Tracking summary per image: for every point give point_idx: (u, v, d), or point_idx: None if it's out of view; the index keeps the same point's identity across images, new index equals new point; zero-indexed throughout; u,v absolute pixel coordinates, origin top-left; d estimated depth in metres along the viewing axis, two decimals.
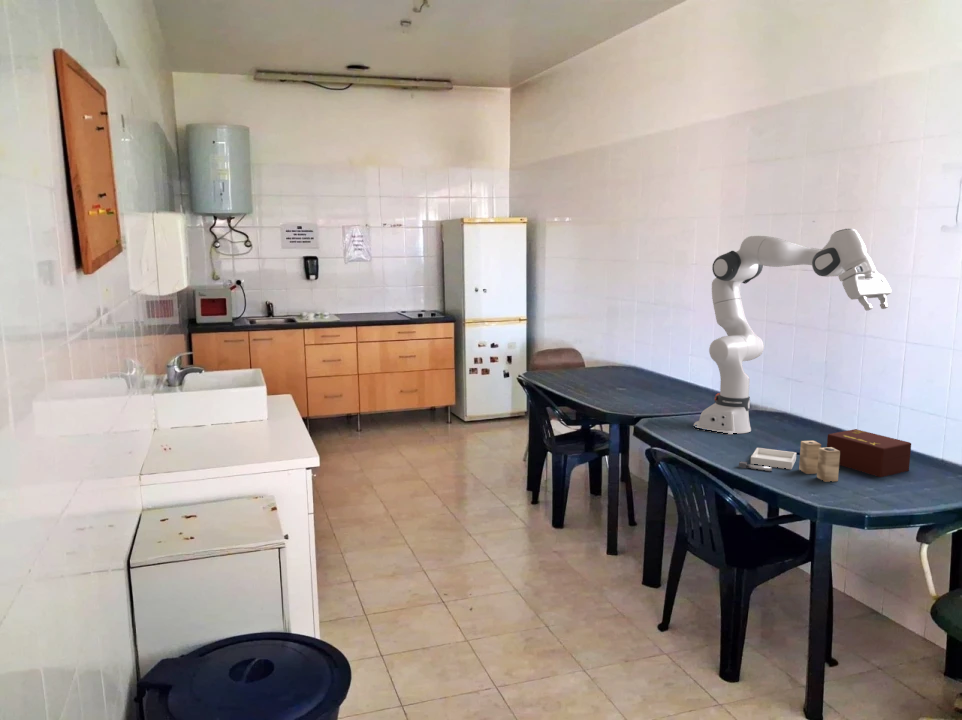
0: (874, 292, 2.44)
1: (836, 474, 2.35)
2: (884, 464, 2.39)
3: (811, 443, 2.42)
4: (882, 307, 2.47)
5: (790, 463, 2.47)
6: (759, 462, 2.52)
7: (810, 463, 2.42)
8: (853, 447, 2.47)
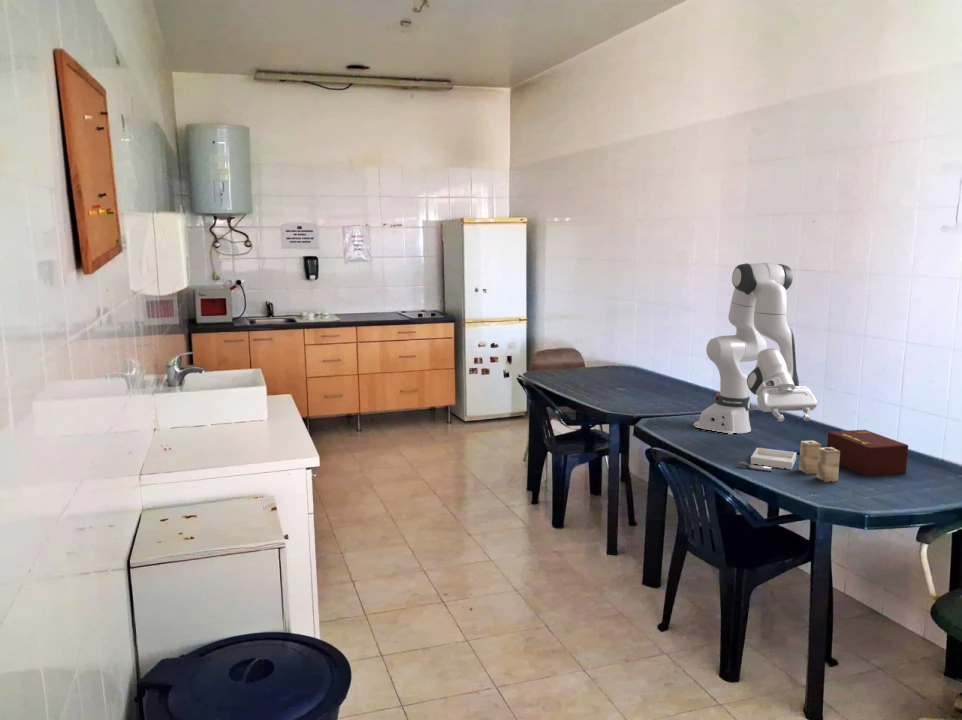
0: (789, 404, 2.55)
1: (836, 474, 2.35)
2: (871, 463, 2.40)
3: (811, 443, 2.42)
4: (804, 419, 2.54)
5: (790, 463, 2.47)
6: (759, 462, 2.52)
7: (810, 463, 2.42)
8: (846, 445, 2.49)
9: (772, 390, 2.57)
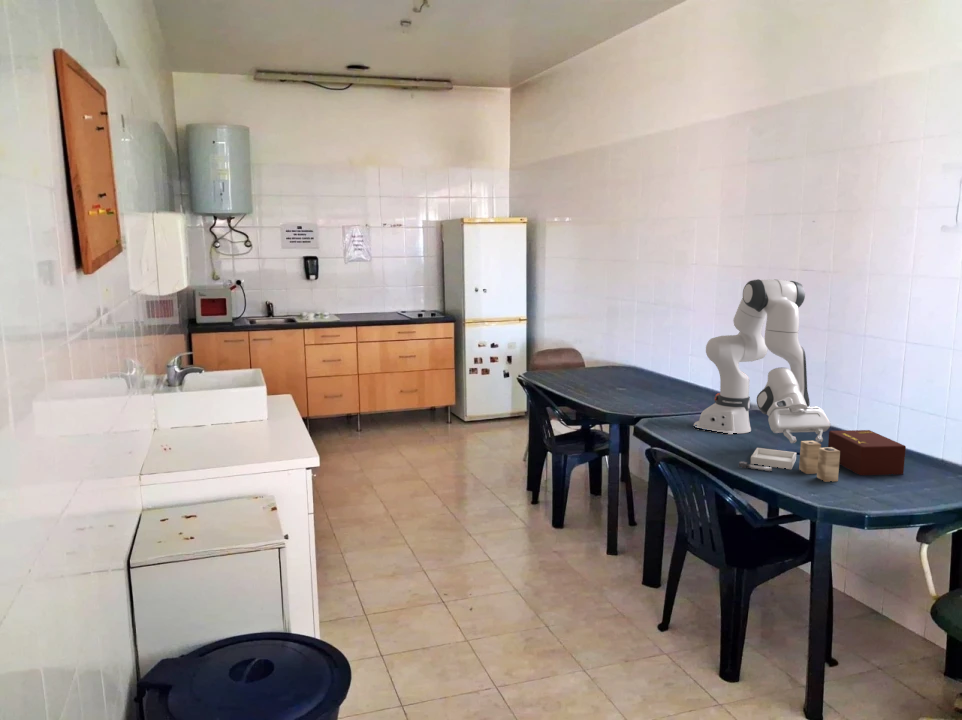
0: (801, 425, 2.47)
1: (836, 474, 2.35)
2: (864, 463, 2.40)
3: (811, 443, 2.42)
4: (817, 440, 2.47)
5: (790, 463, 2.47)
6: (759, 462, 2.52)
7: (810, 463, 2.42)
8: (844, 444, 2.50)
9: (784, 411, 2.50)
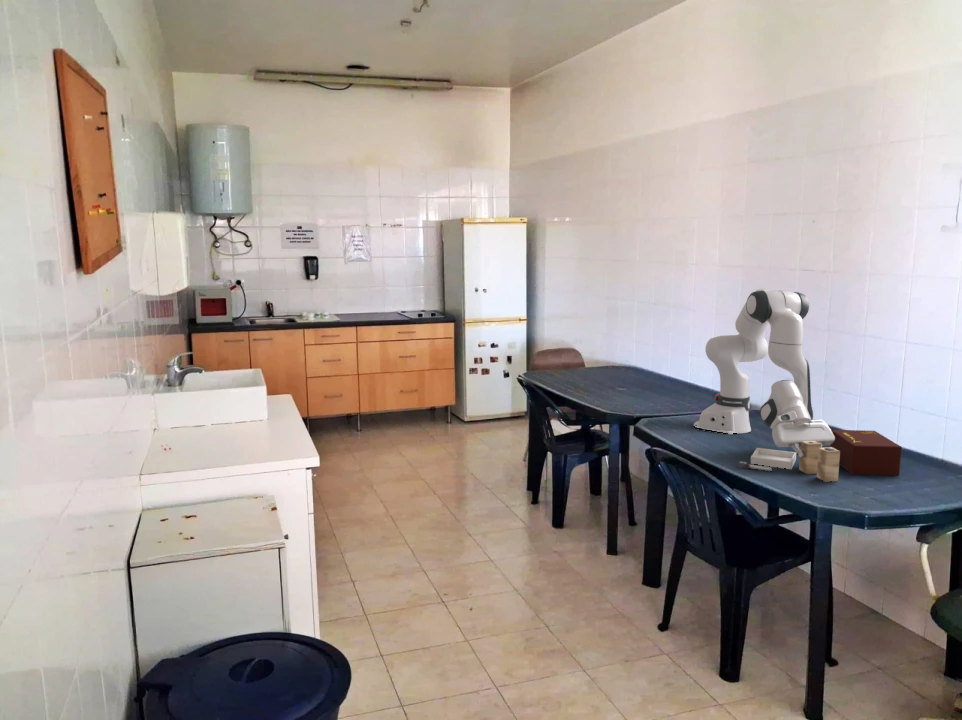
0: (806, 439, 2.45)
1: (836, 474, 2.35)
2: (857, 461, 2.42)
3: (811, 443, 2.42)
4: None
5: (790, 463, 2.47)
6: (759, 462, 2.52)
7: (810, 463, 2.42)
8: (841, 443, 2.51)
9: (788, 425, 2.47)
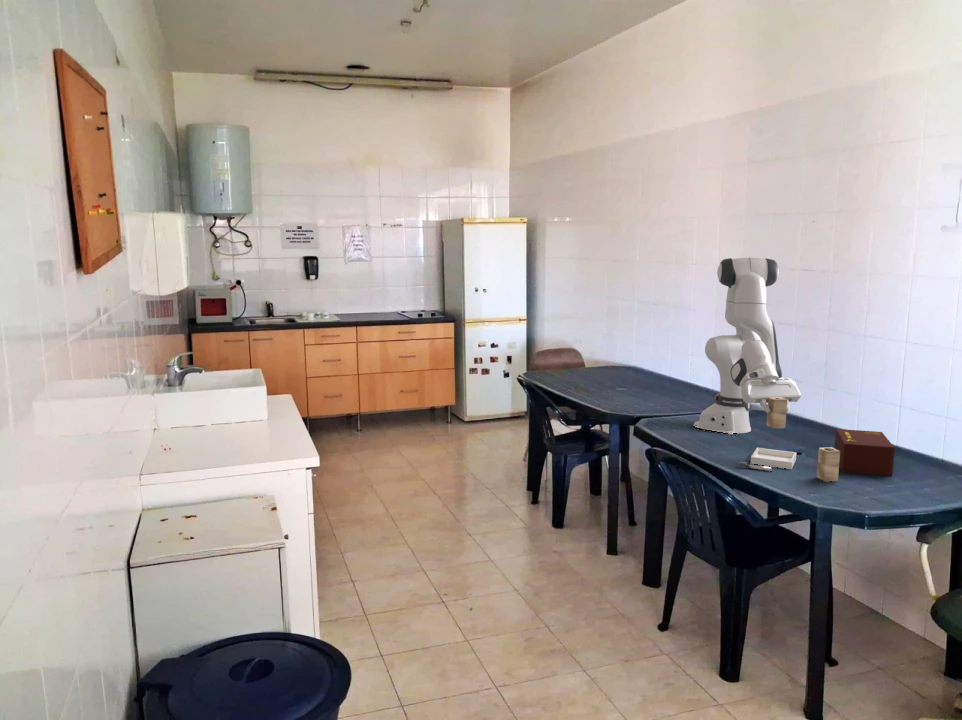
0: (773, 396, 2.54)
1: (836, 474, 2.35)
2: (847, 460, 2.44)
3: (778, 399, 2.51)
4: None
5: (790, 463, 2.47)
6: (759, 462, 2.52)
7: (777, 418, 2.51)
8: (839, 442, 2.53)
9: (756, 382, 2.56)
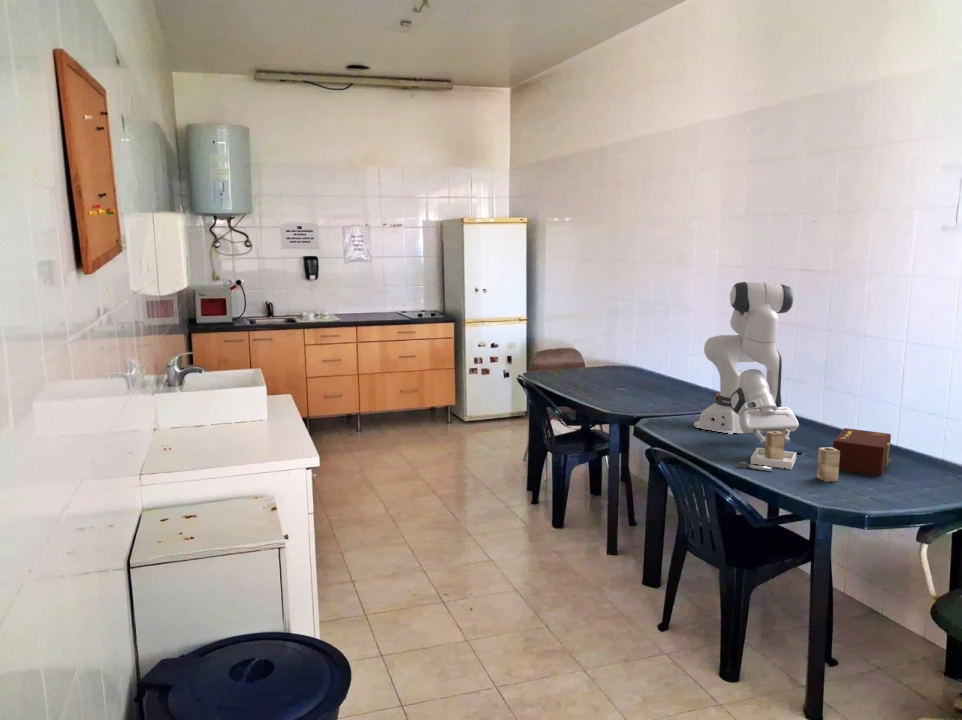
0: (770, 426, 2.56)
1: (836, 474, 2.35)
2: None
3: (775, 433, 2.53)
4: (784, 440, 2.55)
5: (790, 463, 2.47)
6: (759, 462, 2.52)
7: (774, 452, 2.53)
8: None
9: (754, 412, 2.58)
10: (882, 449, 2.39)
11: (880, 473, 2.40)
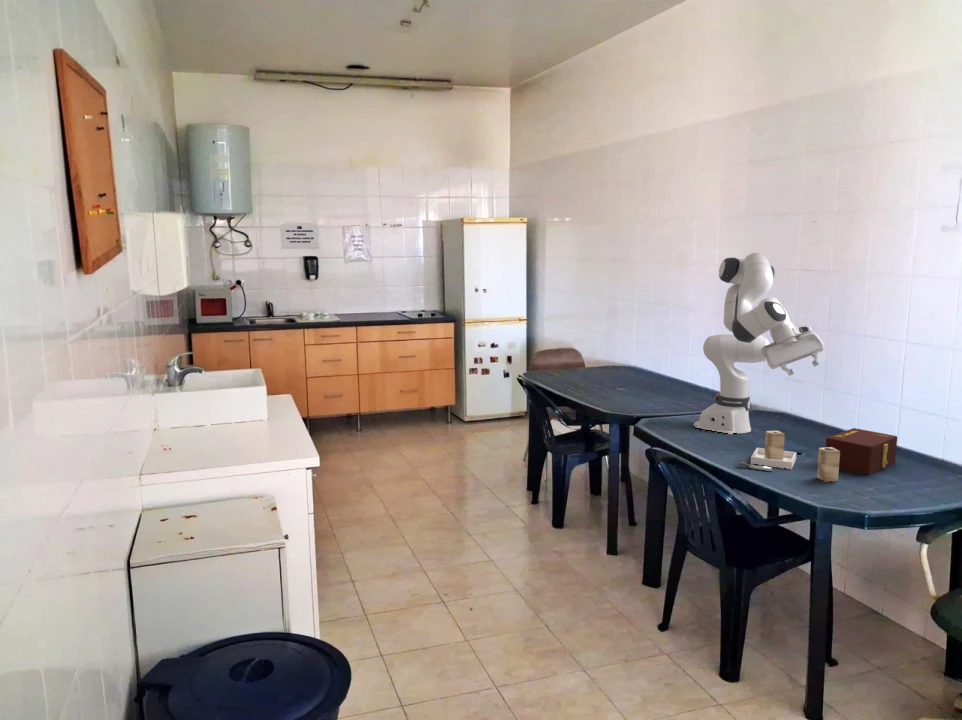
0: None
1: (836, 474, 2.35)
2: None
3: (775, 433, 2.53)
4: None
5: (790, 463, 2.47)
6: (759, 462, 2.52)
7: (774, 452, 2.53)
8: None
9: None
10: (870, 448, 2.40)
11: (868, 472, 2.41)
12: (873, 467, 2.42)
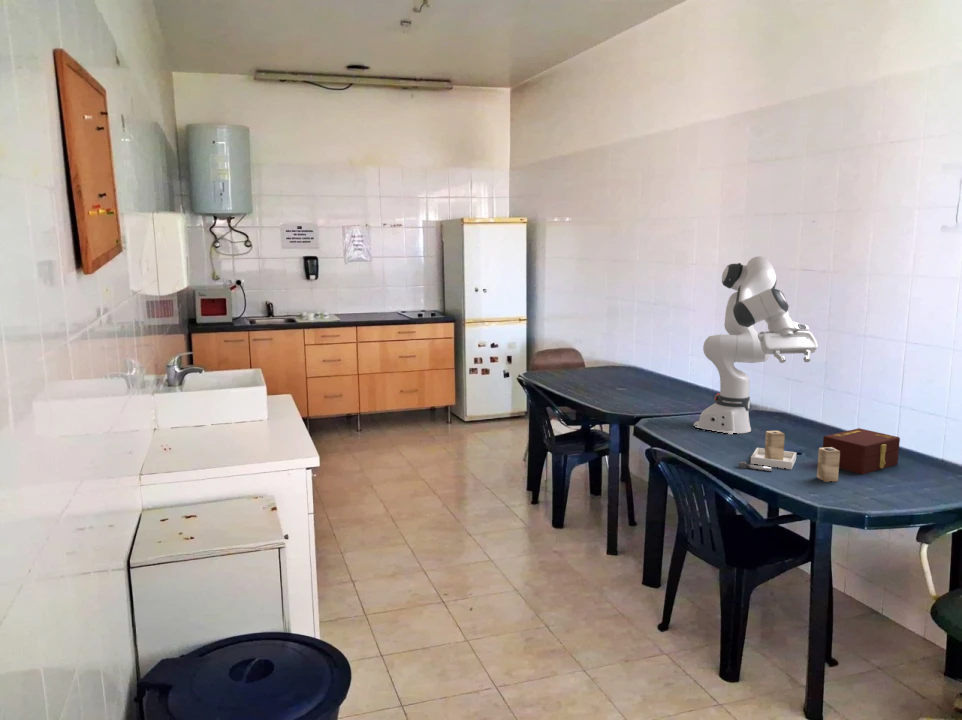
0: None
1: (836, 474, 2.35)
2: None
3: (775, 433, 2.53)
4: None
5: (790, 463, 2.47)
6: (759, 462, 2.52)
7: (774, 452, 2.53)
8: None
9: None
10: (863, 447, 2.41)
11: (861, 471, 2.42)
12: (868, 466, 2.43)
